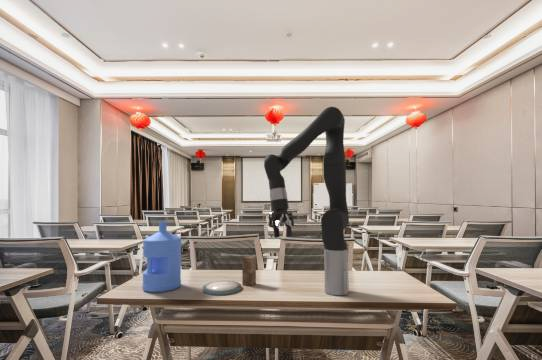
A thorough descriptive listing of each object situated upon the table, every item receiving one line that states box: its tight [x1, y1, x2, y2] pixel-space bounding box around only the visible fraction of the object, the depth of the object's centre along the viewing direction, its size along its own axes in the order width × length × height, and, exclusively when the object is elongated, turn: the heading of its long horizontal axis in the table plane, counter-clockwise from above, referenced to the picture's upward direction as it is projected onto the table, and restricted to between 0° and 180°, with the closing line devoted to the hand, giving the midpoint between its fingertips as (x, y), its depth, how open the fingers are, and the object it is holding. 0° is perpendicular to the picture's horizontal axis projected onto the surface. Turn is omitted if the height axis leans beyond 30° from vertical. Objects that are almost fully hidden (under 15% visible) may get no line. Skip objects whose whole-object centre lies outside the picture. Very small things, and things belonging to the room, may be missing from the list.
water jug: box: [141, 221, 182, 293], centre depth 129 cm, size 16×16×28 cm
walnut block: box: [241, 255, 257, 287], centre depth 133 cm, size 4×4×12 cm
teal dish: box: [202, 280, 242, 296], centre depth 126 cm, size 16×16×1 cm
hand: (283, 236), depth 127 cm, fingers open, 8 cm apart
